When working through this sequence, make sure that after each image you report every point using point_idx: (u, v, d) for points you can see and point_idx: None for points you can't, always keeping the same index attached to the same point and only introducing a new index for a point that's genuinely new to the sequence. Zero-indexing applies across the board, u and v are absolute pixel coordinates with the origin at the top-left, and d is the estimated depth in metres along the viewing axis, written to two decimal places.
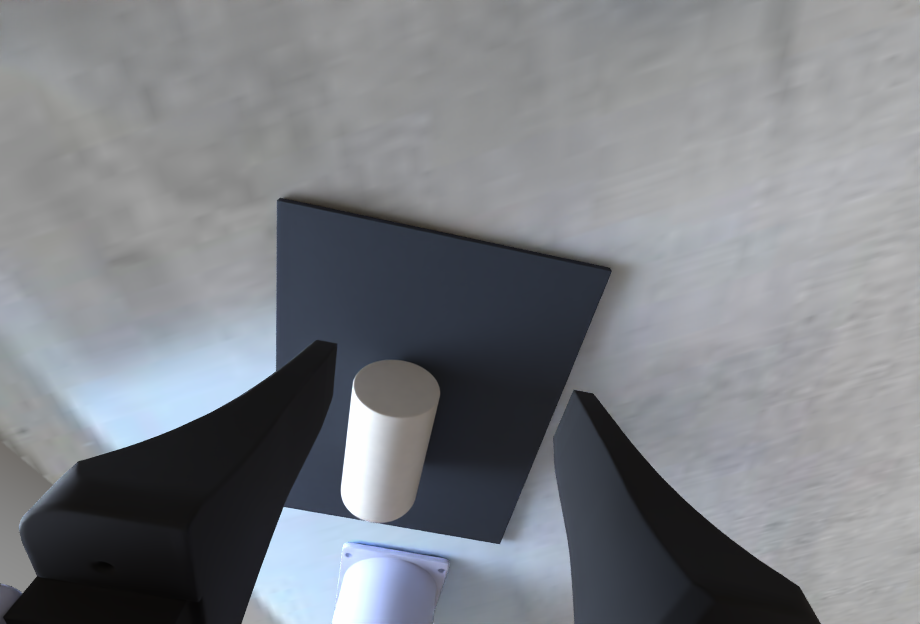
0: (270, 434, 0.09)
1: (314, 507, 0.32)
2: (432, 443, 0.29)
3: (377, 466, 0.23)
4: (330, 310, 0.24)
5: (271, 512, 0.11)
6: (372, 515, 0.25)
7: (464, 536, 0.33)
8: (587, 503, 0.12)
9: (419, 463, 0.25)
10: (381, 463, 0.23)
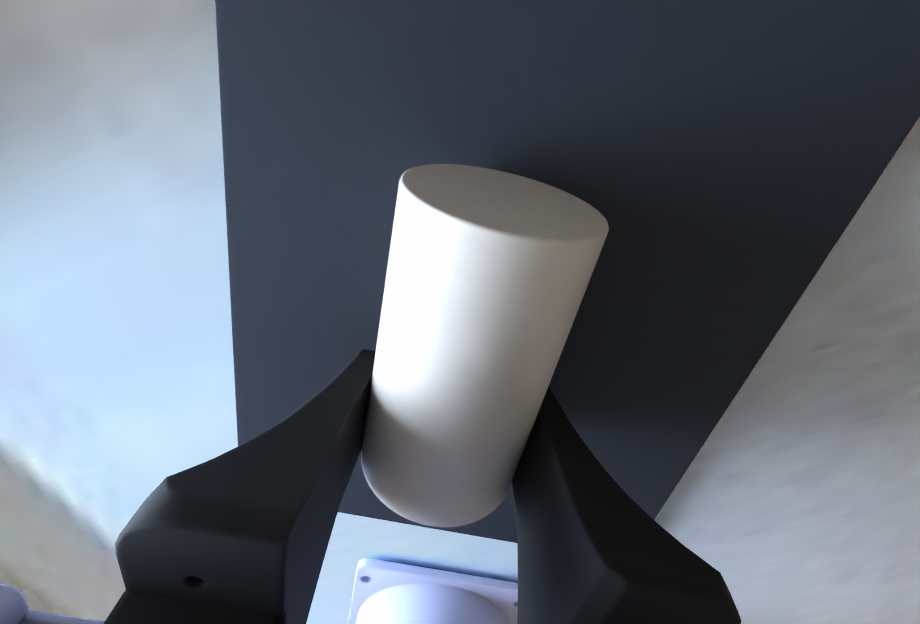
0: (336, 446, 0.09)
1: None
2: None
3: (459, 389, 0.10)
4: (342, 30, 0.10)
5: (329, 522, 0.11)
6: (433, 510, 0.11)
7: None
8: (533, 493, 0.11)
9: (544, 390, 0.11)
10: (469, 379, 0.09)
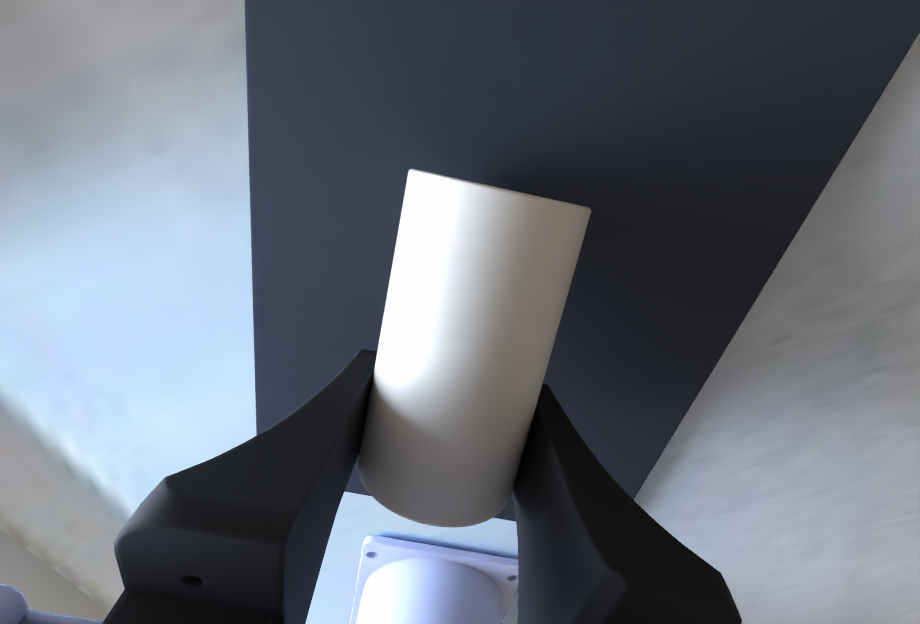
0: (335, 446, 0.09)
1: None
2: None
3: (464, 352, 0.10)
4: (354, 67, 0.12)
5: (328, 522, 0.11)
6: (436, 504, 0.11)
7: None
8: (533, 493, 0.11)
9: (543, 369, 0.11)
10: (474, 341, 0.10)
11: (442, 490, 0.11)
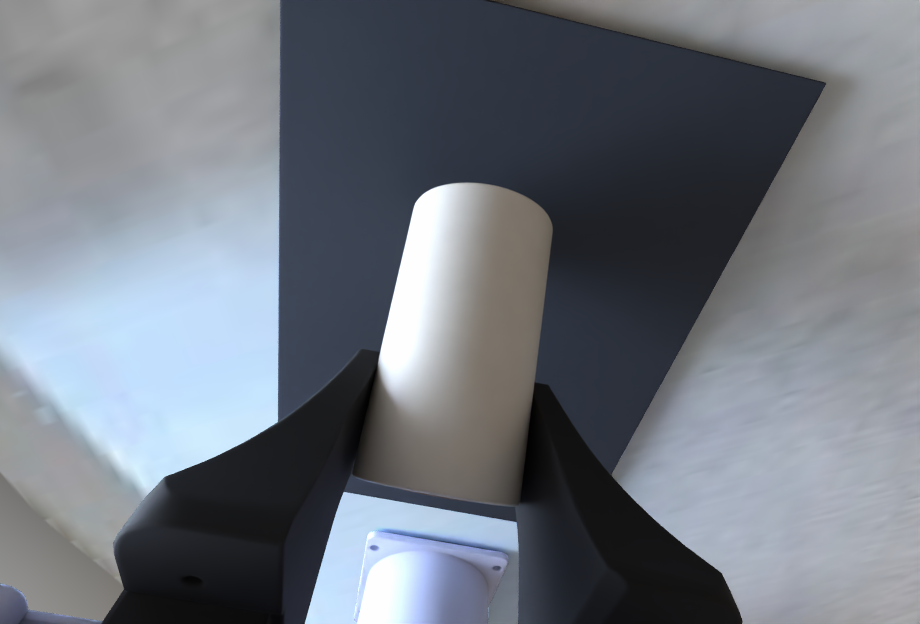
0: (335, 446, 0.09)
1: None
2: None
3: (468, 302, 0.12)
4: (363, 166, 0.16)
5: (328, 522, 0.11)
6: (447, 466, 0.10)
7: None
8: (534, 493, 0.11)
9: (535, 344, 0.13)
10: (476, 292, 0.12)
11: (453, 447, 0.10)
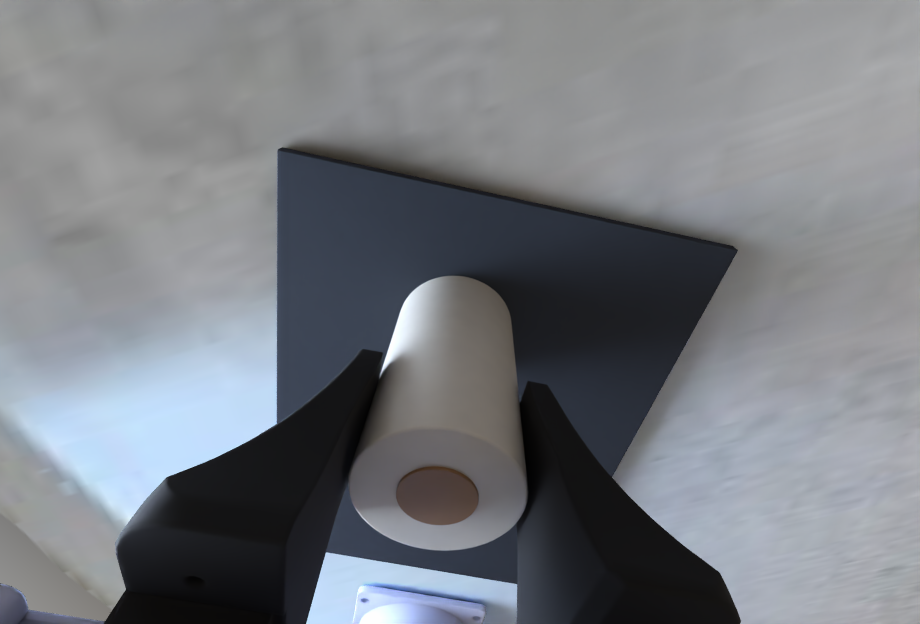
0: (336, 446, 0.09)
1: None
2: None
3: (458, 323, 0.14)
4: (349, 304, 0.18)
5: (329, 523, 0.11)
6: (456, 410, 0.11)
7: (506, 580, 0.27)
8: (533, 493, 0.11)
9: (515, 372, 0.14)
10: (463, 319, 0.14)
11: (459, 399, 0.11)
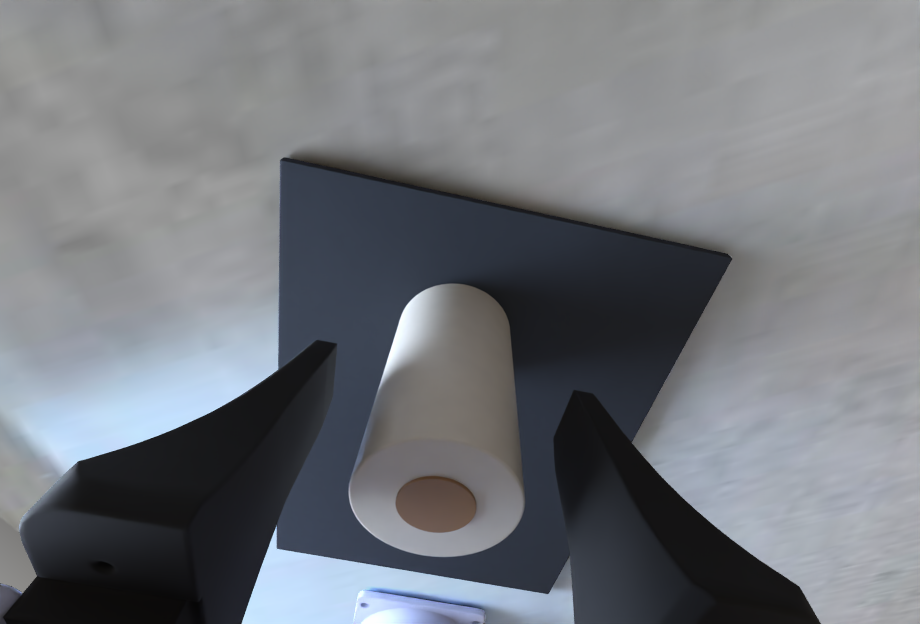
0: (270, 434, 0.09)
1: (324, 551, 0.26)
2: None
3: (456, 333, 0.14)
4: (349, 311, 0.18)
5: (271, 512, 0.11)
6: (454, 421, 0.11)
7: (505, 585, 0.27)
8: (587, 503, 0.12)
9: (513, 380, 0.15)
10: (462, 328, 0.15)
11: (458, 410, 0.11)
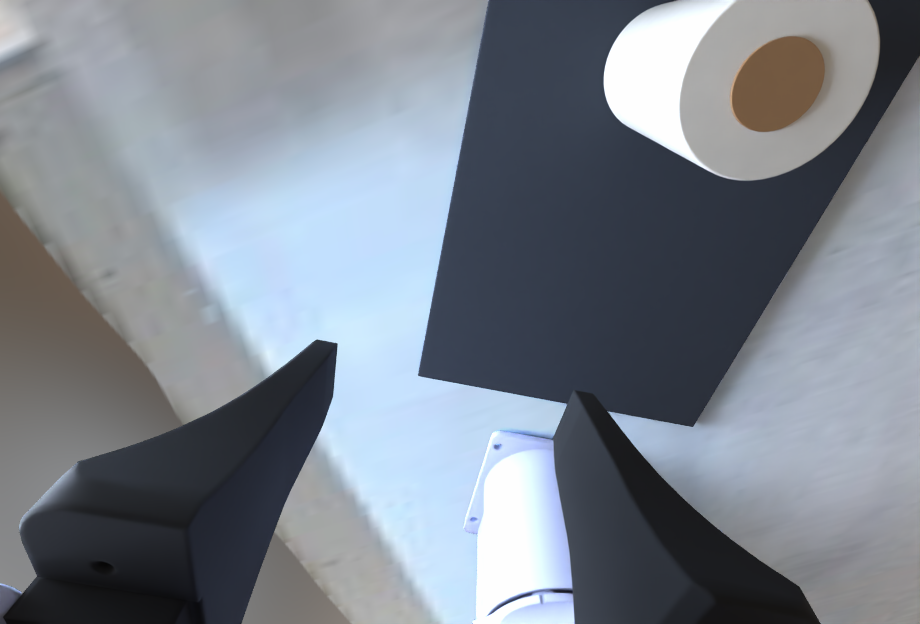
0: (270, 434, 0.09)
1: (467, 377, 0.26)
2: (644, 271, 0.22)
3: None
4: (555, 47, 0.18)
5: (271, 512, 0.11)
6: None
7: (650, 416, 0.26)
8: (587, 503, 0.12)
9: None
10: None
11: None
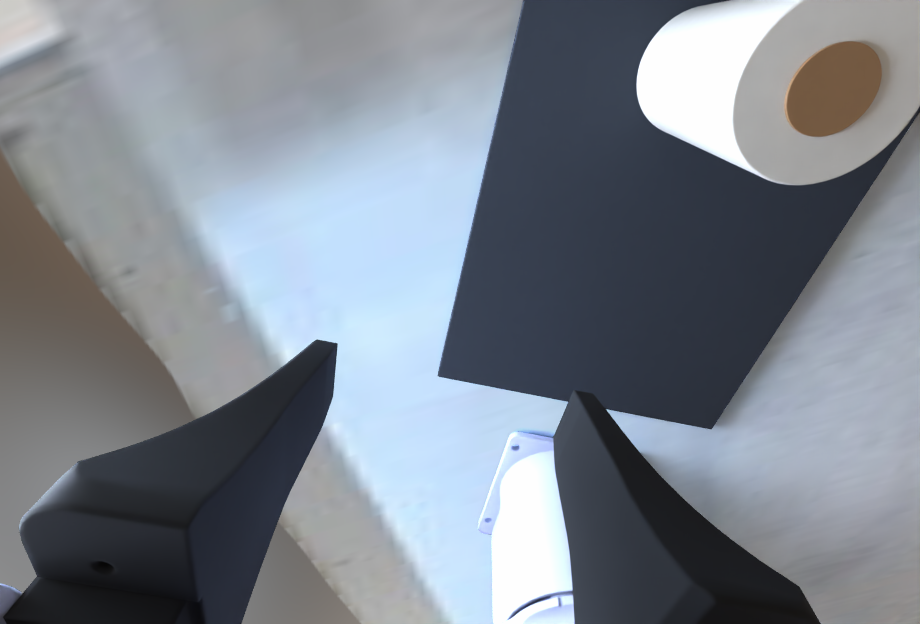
0: (270, 434, 0.09)
1: (488, 378, 0.26)
2: (669, 274, 0.22)
3: None
4: (589, 48, 0.18)
5: (271, 512, 0.11)
6: None
7: (669, 418, 0.26)
8: (587, 503, 0.12)
9: None
10: None
11: None
